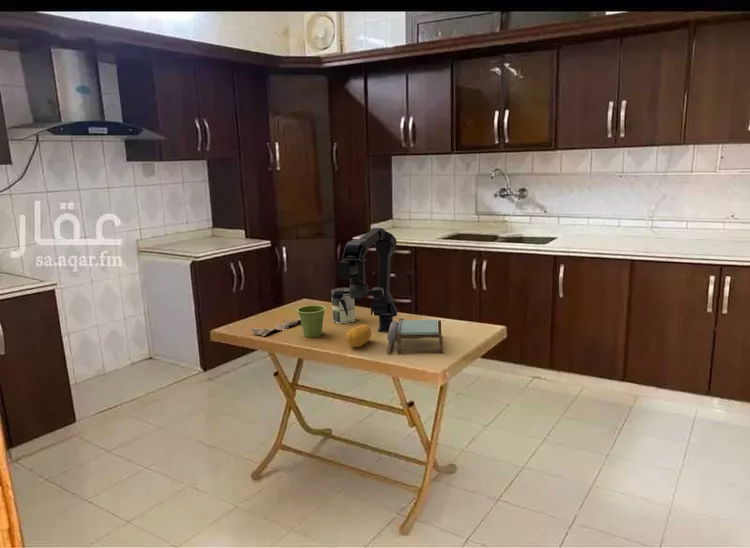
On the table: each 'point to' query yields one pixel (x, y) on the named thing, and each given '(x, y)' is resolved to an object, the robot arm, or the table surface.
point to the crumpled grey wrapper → (280, 327)
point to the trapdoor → (411, 328)
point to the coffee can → (339, 311)
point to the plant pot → (311, 319)
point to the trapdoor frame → (399, 336)
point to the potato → (359, 335)
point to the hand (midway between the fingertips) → (359, 315)
